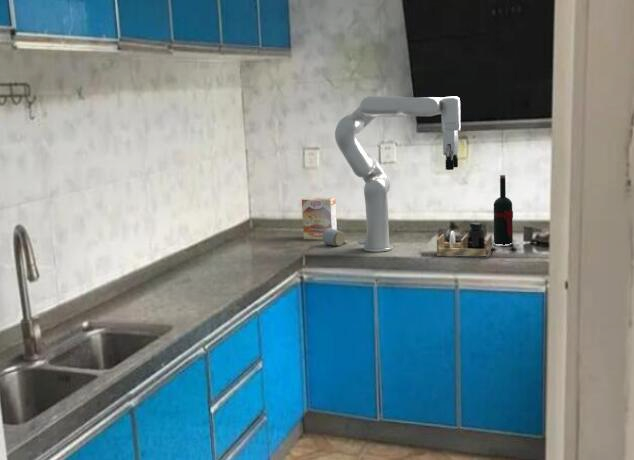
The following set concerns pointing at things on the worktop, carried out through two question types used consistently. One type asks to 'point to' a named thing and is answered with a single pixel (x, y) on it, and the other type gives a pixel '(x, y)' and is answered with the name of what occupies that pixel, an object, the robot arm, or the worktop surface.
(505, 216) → the wine bottle
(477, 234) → the supplement bottle
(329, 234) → the ceramic mug
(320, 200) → the coffeecake box
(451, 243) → the plate
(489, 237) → the rack
